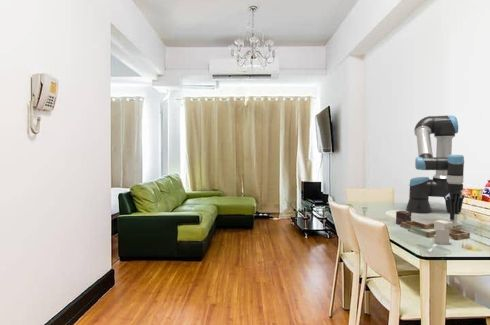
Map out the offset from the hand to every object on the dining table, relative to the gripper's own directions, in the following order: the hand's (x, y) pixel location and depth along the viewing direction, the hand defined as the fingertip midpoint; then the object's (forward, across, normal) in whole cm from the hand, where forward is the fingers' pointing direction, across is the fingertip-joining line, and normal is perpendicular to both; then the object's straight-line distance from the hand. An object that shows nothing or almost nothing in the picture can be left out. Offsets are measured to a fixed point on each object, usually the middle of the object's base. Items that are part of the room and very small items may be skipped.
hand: (453, 225), depth 173 cm
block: (+2, +8, 0) cm, 8 cm away
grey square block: (+3, +28, +15) cm, 32 cm away
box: (+2, +16, -18) cm, 25 cm away
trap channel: (+2, +14, 0) cm, 14 cm away
